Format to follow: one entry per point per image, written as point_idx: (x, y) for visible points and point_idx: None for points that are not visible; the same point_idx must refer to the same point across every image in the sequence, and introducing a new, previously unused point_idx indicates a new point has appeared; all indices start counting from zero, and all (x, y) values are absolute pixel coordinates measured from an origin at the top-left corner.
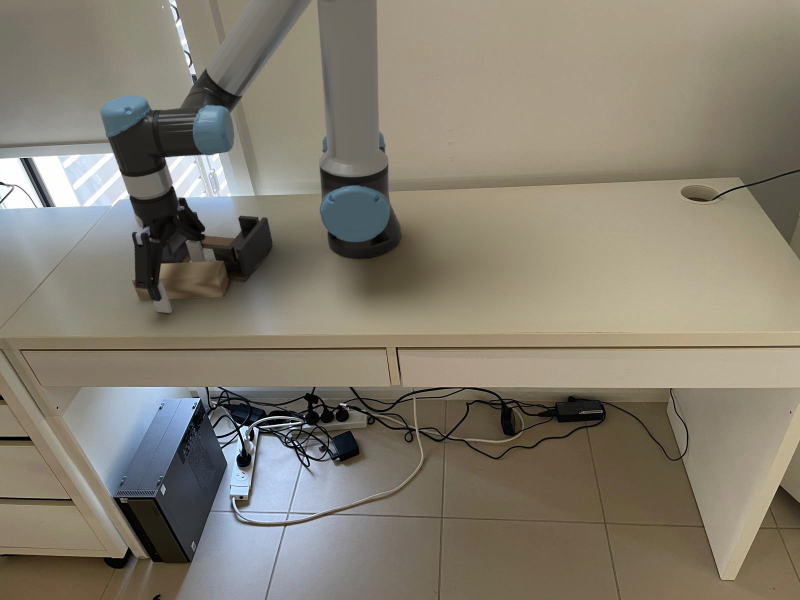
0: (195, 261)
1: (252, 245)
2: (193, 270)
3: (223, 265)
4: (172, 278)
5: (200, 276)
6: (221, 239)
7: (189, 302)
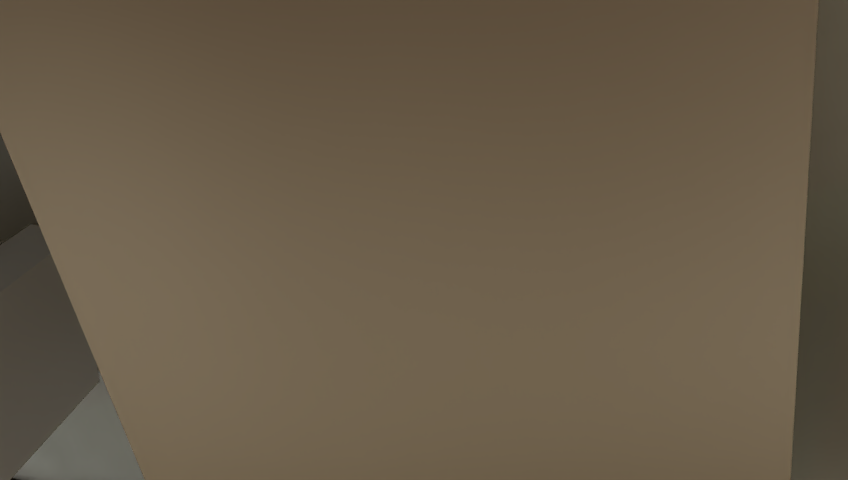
0: (4, 426)
1: None
2: (469, 419)
3: None
4: None
5: (790, 147)
6: None
7: (819, 228)
